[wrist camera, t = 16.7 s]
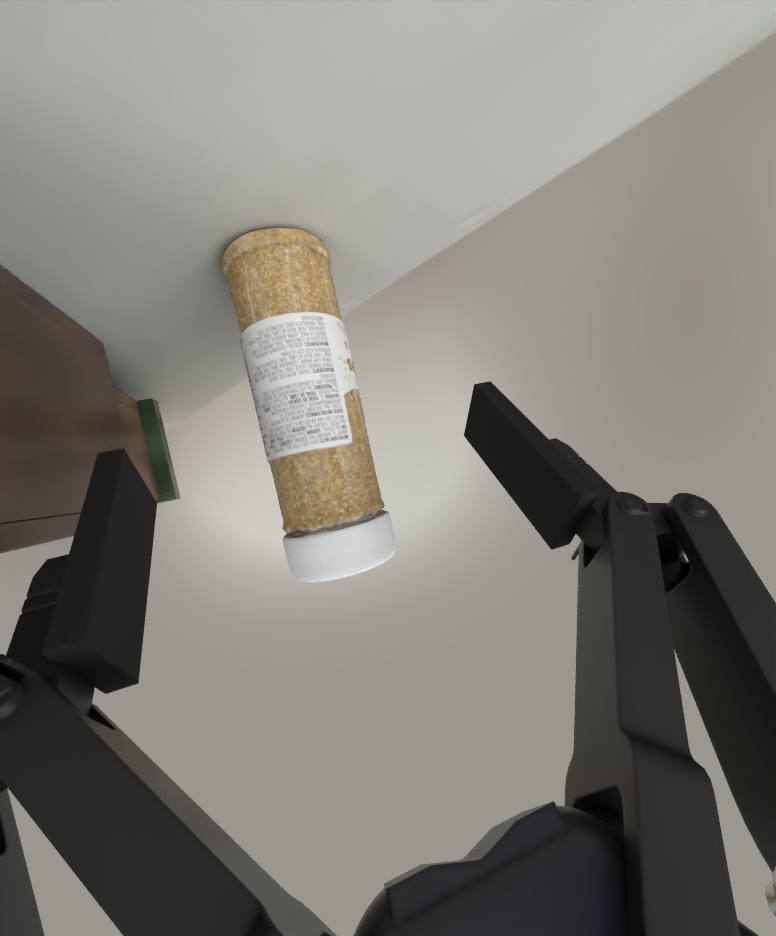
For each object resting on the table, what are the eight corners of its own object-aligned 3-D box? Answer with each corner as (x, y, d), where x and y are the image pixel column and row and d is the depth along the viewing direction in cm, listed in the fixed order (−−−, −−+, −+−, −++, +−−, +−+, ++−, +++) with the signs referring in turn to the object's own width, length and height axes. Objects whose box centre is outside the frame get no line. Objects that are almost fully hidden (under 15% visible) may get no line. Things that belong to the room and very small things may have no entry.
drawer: (178, 414, 36) (197, 496, 36) (20, 441, 33) (42, 530, 33) (43, 328, 16) (87, 510, 16) (-392, 375, 13) (-333, 600, 13)
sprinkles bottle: (323, 278, 19) (383, 543, 19) (226, 287, 18) (291, 570, 18) (334, 216, 14) (413, 561, 15) (206, 222, 13) (293, 597, 13)
